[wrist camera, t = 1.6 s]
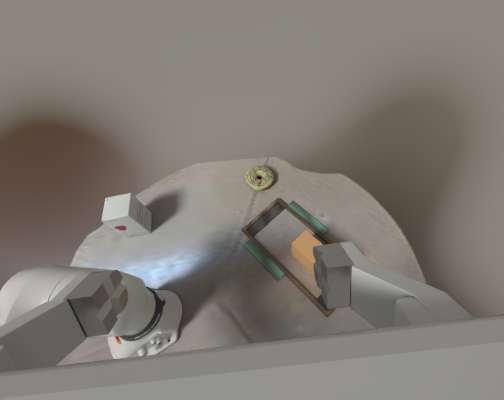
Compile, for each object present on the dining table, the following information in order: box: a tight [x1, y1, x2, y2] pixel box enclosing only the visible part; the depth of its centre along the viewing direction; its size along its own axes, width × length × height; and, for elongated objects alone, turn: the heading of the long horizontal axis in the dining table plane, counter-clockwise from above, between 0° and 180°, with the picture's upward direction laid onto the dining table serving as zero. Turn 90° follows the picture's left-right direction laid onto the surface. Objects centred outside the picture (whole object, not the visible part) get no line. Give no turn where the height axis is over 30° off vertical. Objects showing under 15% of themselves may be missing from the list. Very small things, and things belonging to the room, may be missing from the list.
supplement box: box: [102, 193, 152, 238], centre depth 82 cm, size 9×9×15 cm
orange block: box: [291, 230, 323, 277], centre depth 70 cm, size 6×14×10 cm, turn 42°
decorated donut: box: [246, 166, 274, 191], centre depth 91 cm, size 10×11×4 cm
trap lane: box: [242, 198, 335, 317], centre depth 76 cm, size 24×37×1 cm, turn 42°
